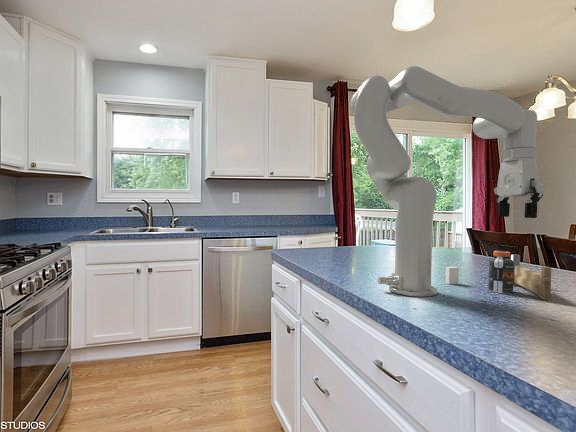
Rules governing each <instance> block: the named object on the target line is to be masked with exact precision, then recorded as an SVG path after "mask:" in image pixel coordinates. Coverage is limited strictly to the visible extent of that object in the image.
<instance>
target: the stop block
mask: <svg viewBox="0 0 576 432" xmlns="http://www.w3.org/2000/svg"><path fill="white" fill-rule="evenodd" d="M459 273H460V269H459V267H457V266H445V282H444V283H445V284H448V285H459V275H460V274H459Z"/></svg>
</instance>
